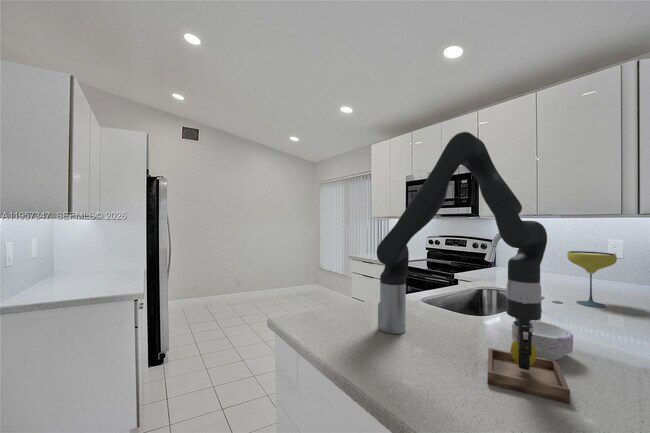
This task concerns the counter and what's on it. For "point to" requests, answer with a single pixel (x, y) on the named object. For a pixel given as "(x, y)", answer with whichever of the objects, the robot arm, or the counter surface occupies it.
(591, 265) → the cocktail glass
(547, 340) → the paper bowls
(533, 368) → the walnut tray
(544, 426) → the counter surface
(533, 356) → the lemon
